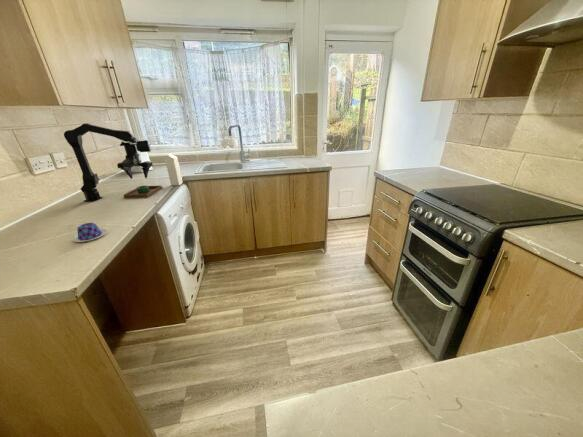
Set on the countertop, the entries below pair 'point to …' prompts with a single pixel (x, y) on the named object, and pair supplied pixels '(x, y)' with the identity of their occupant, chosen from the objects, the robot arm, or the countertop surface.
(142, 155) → the plastic bottle
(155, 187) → the tray
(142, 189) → the ring
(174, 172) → the milk
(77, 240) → the checkered hat
